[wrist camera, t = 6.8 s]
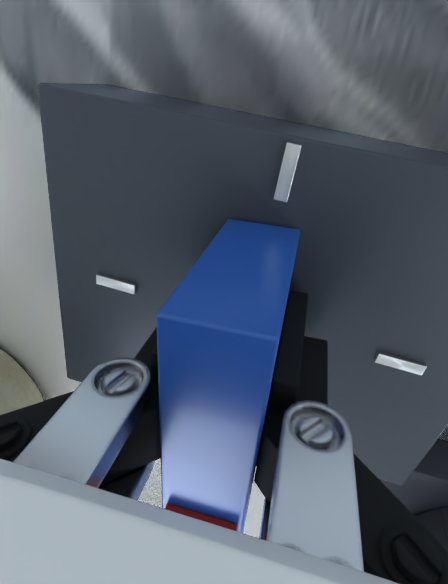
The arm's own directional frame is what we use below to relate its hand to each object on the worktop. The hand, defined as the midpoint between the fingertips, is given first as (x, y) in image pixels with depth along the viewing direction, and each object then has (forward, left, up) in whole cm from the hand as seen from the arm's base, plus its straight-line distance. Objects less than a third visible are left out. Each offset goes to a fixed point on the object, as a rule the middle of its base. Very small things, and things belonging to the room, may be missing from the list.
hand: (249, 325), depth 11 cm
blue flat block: (0, 0, 0) cm, 0 cm away
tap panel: (0, 0, -4) cm, 4 cm away
